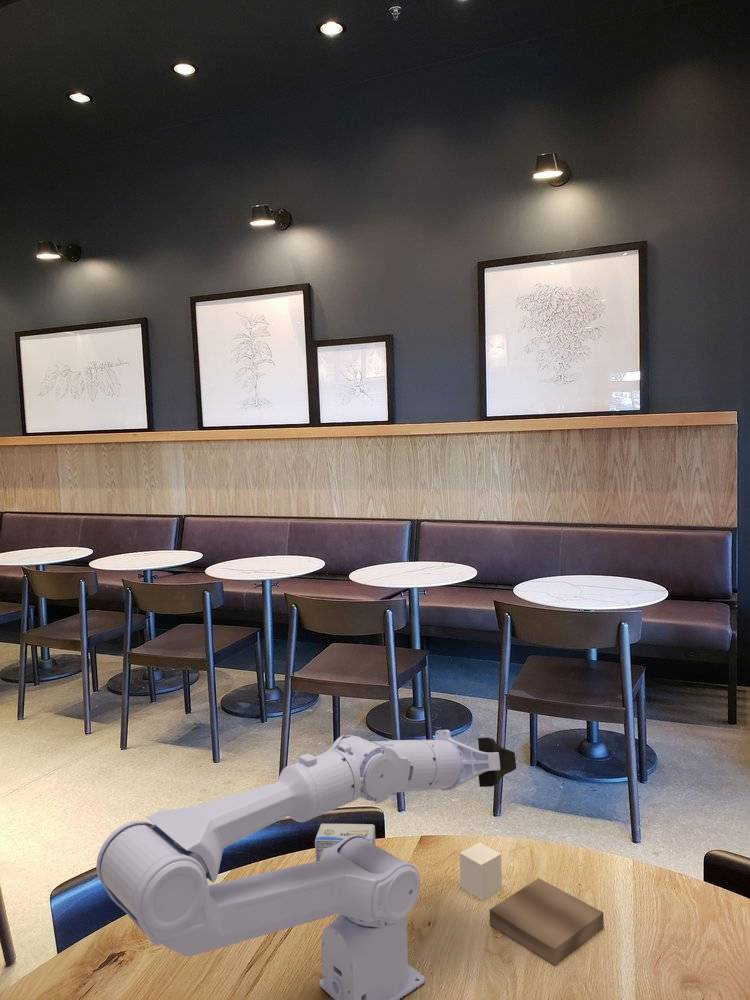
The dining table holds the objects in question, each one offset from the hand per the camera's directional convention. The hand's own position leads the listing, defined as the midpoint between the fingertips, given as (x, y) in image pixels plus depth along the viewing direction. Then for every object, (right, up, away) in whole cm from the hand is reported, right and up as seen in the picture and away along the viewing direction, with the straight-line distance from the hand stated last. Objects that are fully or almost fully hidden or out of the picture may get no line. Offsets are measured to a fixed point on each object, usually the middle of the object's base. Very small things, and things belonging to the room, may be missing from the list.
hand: (489, 761), depth 97 cm
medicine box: (-19, -20, +5) cm, 28 cm away
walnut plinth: (+7, -19, -4) cm, 21 cm away
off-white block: (0, -19, +5) cm, 20 cm away
